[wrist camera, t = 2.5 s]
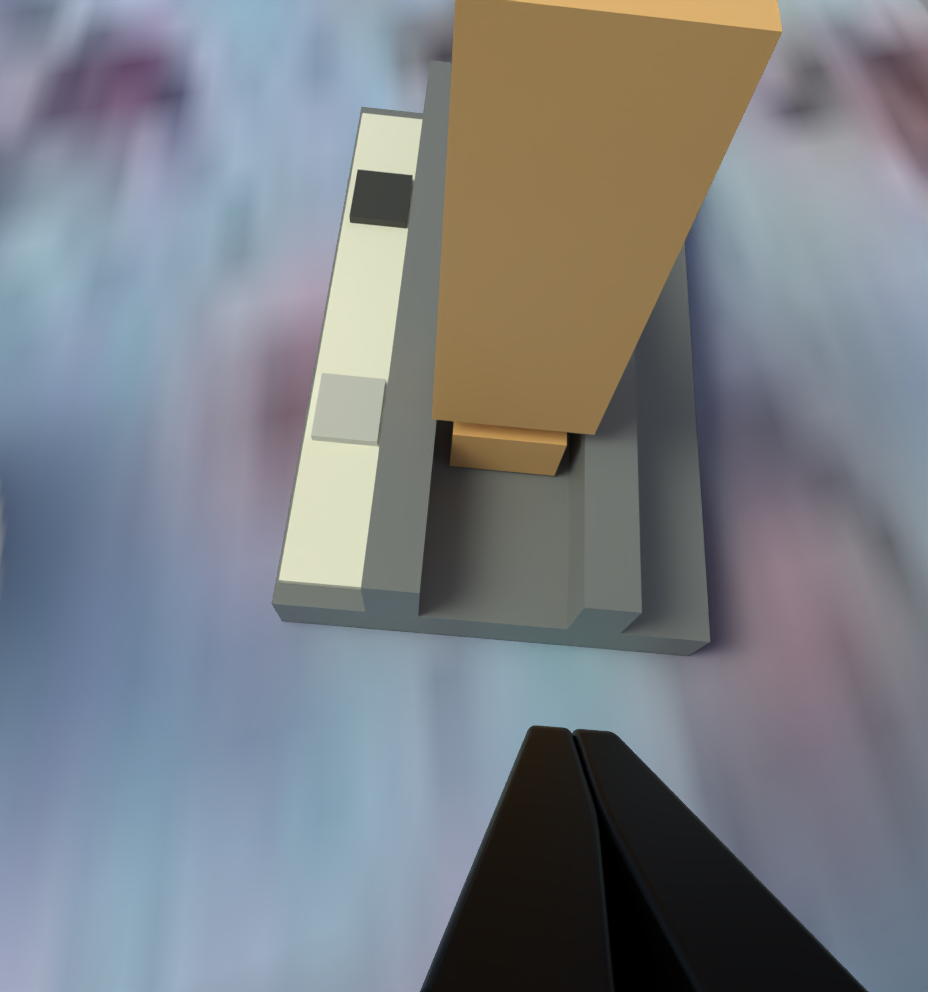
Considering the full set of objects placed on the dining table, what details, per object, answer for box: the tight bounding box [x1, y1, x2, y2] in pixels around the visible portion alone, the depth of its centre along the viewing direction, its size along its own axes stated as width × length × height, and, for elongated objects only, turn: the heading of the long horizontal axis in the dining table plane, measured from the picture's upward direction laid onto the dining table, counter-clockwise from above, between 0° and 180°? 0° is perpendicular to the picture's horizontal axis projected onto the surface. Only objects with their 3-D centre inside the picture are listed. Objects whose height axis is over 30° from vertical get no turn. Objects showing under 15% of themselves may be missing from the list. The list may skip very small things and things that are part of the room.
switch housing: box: [272, 61, 710, 656], centre depth 20 cm, size 16×10×3 cm, turn 176°
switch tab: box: [432, 0, 782, 476], centre depth 14 cm, size 2×4×11 cm, turn 86°
